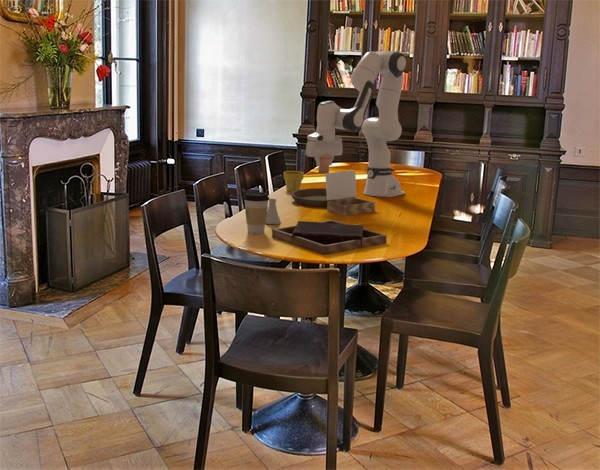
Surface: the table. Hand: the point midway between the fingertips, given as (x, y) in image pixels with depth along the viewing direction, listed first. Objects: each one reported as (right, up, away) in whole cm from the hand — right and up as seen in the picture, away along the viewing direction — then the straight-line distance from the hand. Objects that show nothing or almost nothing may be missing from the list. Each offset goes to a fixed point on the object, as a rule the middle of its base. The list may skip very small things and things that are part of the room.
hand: (324, 165), depth 316 cm
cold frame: (+11, -22, -15) cm, 29 cm away
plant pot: (-15, -10, +33) cm, 37 cm away
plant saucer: (0, -18, +4) cm, 18 cm away
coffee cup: (-28, -32, -60) cm, 74 cm away
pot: (0, -3, +1) cm, 4 cm away
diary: (-1, -35, -68) cm, 77 cm away
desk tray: (-1, -35, -68) cm, 77 cm away
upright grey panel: (+8, -10, -14) cm, 19 cm away
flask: (-23, -28, -43) cm, 56 cm away
